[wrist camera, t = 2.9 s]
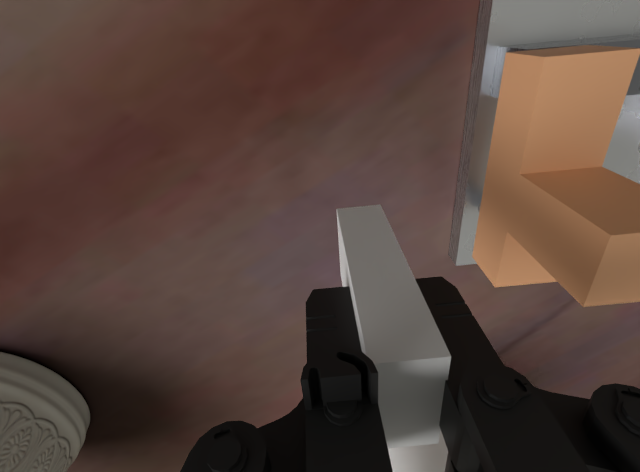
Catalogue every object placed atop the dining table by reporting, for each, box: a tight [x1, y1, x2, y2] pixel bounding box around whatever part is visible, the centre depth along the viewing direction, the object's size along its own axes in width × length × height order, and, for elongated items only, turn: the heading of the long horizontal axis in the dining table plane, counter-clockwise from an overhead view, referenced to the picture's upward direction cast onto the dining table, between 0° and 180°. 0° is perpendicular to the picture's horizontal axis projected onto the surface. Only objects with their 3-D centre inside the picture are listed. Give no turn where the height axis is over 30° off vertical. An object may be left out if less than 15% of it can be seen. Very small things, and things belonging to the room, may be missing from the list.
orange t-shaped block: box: [472, 45, 640, 307], centre depth 13 cm, size 9×3×9 cm, turn 4°
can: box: [388, 429, 448, 472], centre depth 23 cm, size 6×6×12 cm
